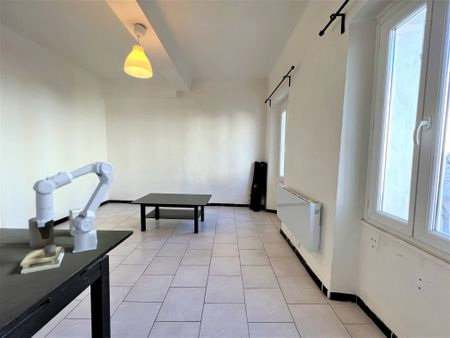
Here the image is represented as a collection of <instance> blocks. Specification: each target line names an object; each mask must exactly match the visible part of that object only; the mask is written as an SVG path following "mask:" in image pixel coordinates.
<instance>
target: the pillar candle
mask: <svg viewBox="0 0 450 338" xmlns="http://www.w3.org/2000/svg"><path fill="white" fill-rule="evenodd" d="M34 218H36V216H35V217H32V218H30V219H28V221H27V222H28V234H29V236H28V241H29V248H31V249H38V248H39V249H40V248H44V247H45V246H47V245H52V244H54V243H55V234H54V233H55V231H54V230H55V228H54V224H53V225H52V228H51V232H50V237H49V239H42V237H41V234H40V231H39V230H38V228H37V227H36V224H37V222H36V221H33V219H34ZM52 220H54V219H52ZM50 221H51V220H50Z"/></svg>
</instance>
